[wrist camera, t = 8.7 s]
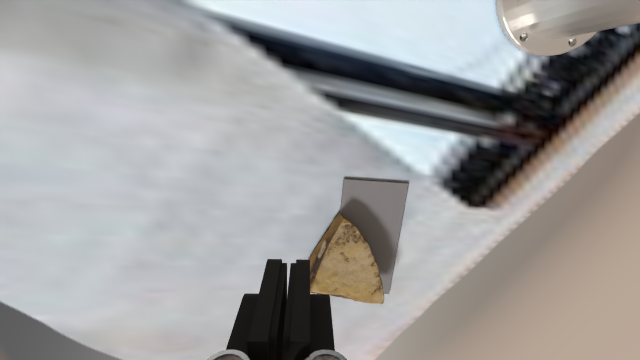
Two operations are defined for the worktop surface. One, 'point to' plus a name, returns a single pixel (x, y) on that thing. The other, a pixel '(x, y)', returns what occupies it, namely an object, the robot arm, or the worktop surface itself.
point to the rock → (345, 265)
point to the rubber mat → (376, 218)
